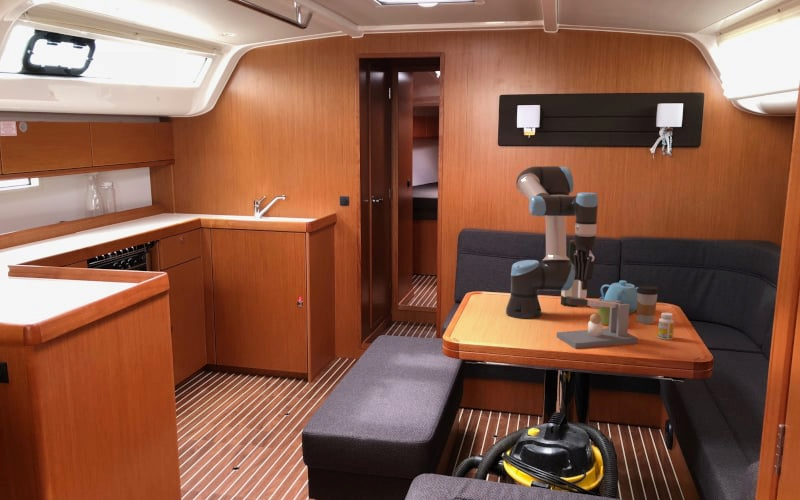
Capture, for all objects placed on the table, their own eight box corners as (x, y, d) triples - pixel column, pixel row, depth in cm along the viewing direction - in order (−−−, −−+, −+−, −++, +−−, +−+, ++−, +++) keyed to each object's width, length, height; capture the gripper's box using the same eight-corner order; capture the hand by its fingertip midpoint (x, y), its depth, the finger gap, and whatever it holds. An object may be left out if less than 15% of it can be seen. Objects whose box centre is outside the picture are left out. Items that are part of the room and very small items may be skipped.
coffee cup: (657, 325, 263) (660, 289, 260) (636, 324, 265) (638, 288, 262) (654, 320, 271) (656, 285, 268) (633, 318, 273) (635, 284, 270)
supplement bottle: (660, 340, 244) (662, 315, 242) (655, 335, 249) (657, 311, 247) (674, 340, 244) (676, 315, 242) (669, 336, 249) (671, 312, 247)
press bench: (556, 337, 247) (558, 302, 245) (616, 332, 253) (618, 297, 251) (575, 348, 234) (577, 311, 231) (637, 343, 240) (640, 306, 238)
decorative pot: (595, 307, 292) (596, 277, 290) (627, 305, 296) (628, 276, 294) (614, 316, 277) (616, 285, 274) (647, 314, 280) (649, 283, 278)
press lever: (565, 303, 240) (566, 296, 239) (618, 309, 246) (619, 301, 245) (569, 306, 236) (571, 298, 236) (623, 311, 242) (625, 303, 242)
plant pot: (619, 322, 268) (620, 302, 266) (616, 328, 259) (618, 307, 258) (596, 319, 272) (597, 299, 270) (593, 325, 263) (594, 304, 262)
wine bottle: (559, 302, 301) (562, 238, 296) (578, 302, 300) (581, 239, 295) (561, 306, 293) (564, 241, 288) (580, 307, 292) (583, 242, 287)
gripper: (567, 232, 240) (564, 294, 244) (585, 237, 228) (582, 302, 232) (585, 232, 242) (582, 293, 246) (604, 237, 230) (600, 301, 233)
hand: (582, 297), depth 239 cm, fingers closed
